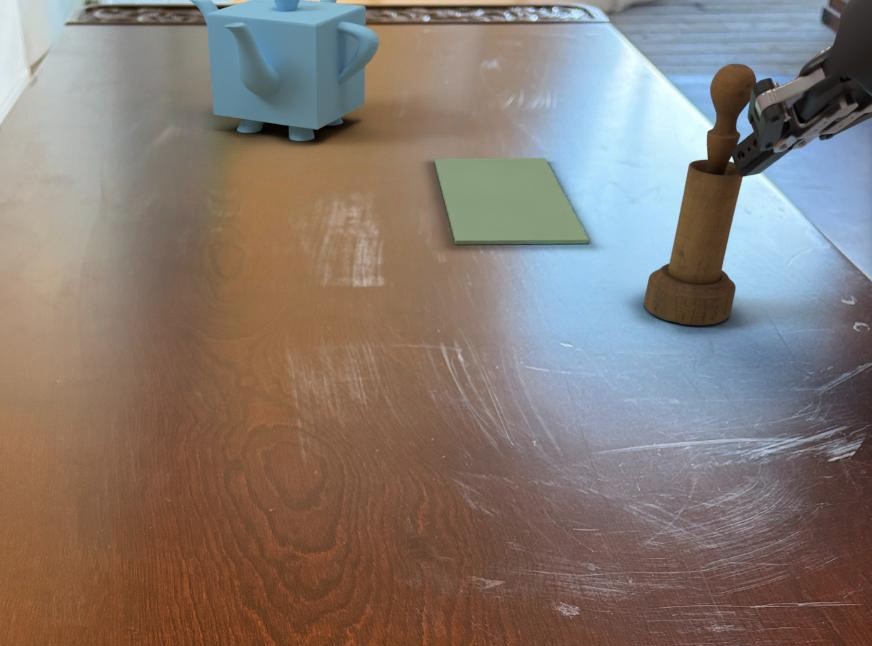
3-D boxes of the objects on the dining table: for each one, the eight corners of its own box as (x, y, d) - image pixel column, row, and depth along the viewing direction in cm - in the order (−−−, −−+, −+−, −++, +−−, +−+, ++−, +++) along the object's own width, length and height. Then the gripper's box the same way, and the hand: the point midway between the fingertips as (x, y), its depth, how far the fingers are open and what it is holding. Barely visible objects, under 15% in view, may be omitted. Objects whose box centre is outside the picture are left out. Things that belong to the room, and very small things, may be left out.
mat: (544, 161, 113) (545, 157, 113) (588, 243, 94) (589, 239, 93) (434, 162, 113) (434, 158, 113) (455, 244, 94) (455, 240, 93)
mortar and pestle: (735, 300, 84) (793, 59, 73) (723, 333, 79) (783, 80, 68) (652, 287, 86) (696, 51, 75) (635, 317, 81) (680, 71, 70)
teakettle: (387, 140, 120) (391, -3, 111) (228, 155, 115) (219, 8, 106) (337, 99, 134) (338, -29, 125) (195, 111, 130) (184, -21, 121)
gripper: (1009, -69, 60) (794, 104, 76) (840, -53, 55) (650, 127, 72) (1057, 49, 59) (830, 198, 75) (889, 75, 55) (686, 227, 71)
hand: (742, 163), depth 73 cm, fingers closed
